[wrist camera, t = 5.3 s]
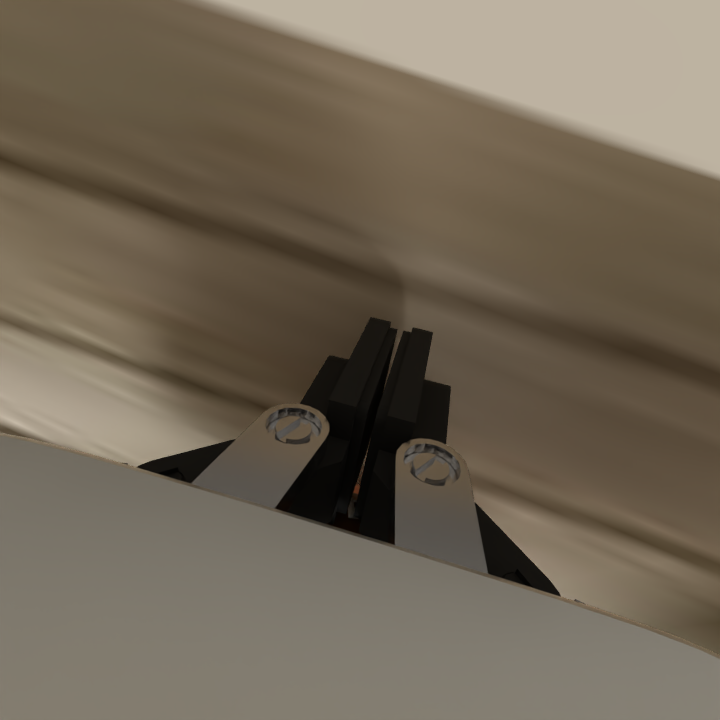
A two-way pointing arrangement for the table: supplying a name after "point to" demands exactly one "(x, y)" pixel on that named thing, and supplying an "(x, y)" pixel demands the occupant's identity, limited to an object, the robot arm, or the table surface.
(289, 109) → the table surface
